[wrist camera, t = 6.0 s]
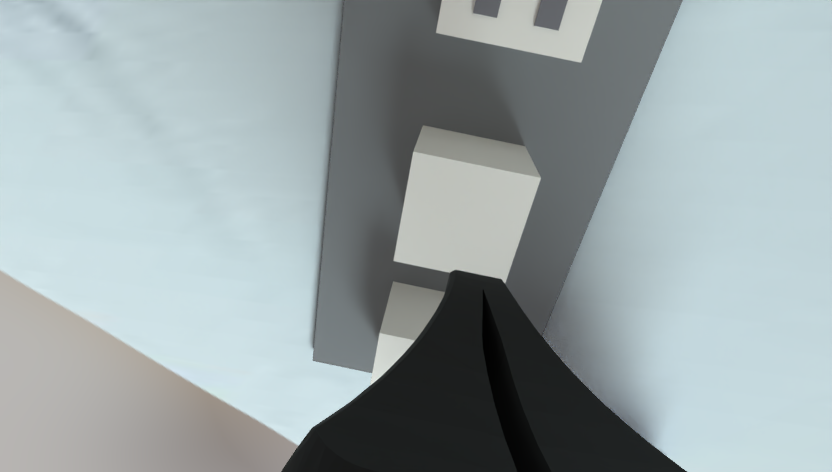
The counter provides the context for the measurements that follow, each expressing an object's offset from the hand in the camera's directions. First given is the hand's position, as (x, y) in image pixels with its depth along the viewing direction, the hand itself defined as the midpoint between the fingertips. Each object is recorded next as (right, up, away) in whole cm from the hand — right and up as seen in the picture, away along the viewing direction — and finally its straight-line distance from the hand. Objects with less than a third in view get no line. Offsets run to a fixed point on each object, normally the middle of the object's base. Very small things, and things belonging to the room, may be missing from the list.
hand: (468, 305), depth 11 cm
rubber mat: (+1, +4, +8) cm, 9 cm away
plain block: (+1, +4, +8) cm, 9 cm away
